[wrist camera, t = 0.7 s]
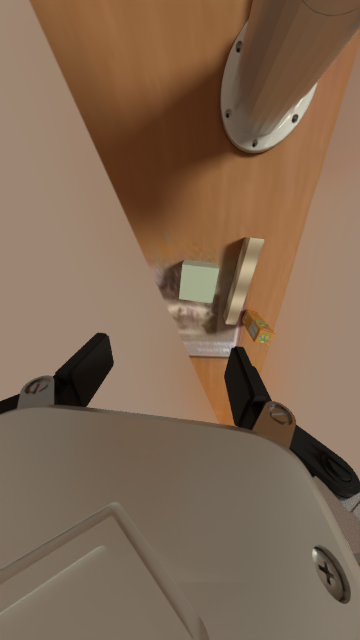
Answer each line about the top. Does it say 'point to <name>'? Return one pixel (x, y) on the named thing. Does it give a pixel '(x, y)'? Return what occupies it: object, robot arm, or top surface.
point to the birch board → (242, 278)
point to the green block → (198, 281)
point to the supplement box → (257, 327)
